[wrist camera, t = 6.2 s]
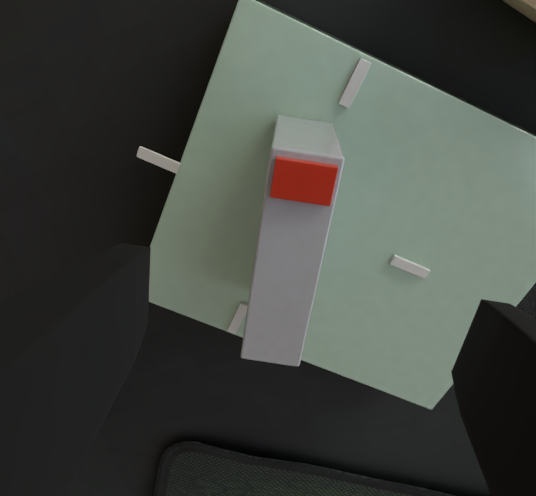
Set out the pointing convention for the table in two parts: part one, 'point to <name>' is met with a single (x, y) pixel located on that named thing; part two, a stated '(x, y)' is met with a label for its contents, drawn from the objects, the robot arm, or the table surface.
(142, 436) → the table surface
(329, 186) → the tap handle
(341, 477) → the mouse mat
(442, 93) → the block
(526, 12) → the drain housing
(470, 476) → the table surface
